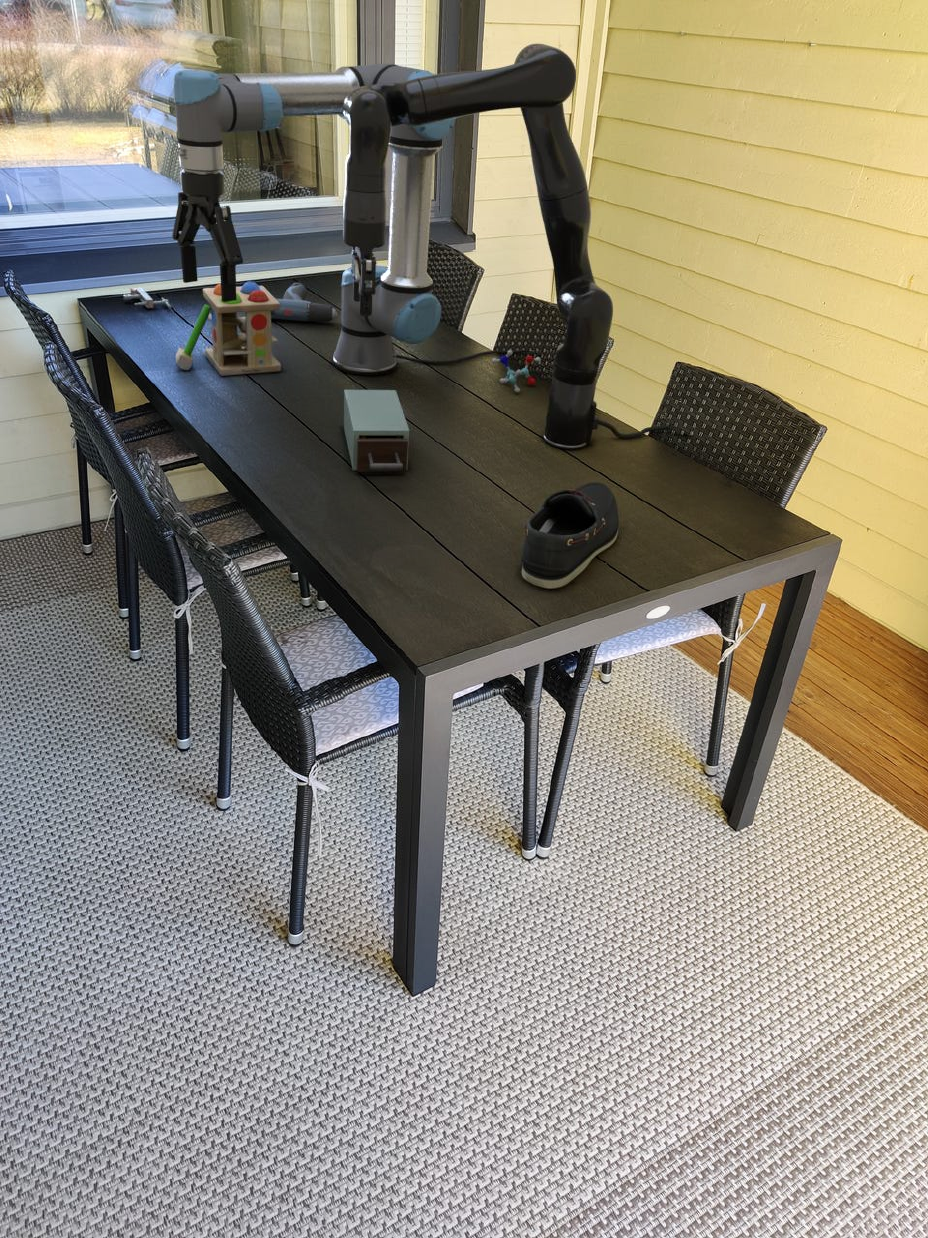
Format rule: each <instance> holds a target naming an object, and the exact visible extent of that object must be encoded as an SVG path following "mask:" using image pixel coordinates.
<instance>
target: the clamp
mask: <svg viewBox="0 0 928 1238" xmlns="http://www.w3.org/2000/svg"><path fill="white" fill-rule="evenodd" d="M129 289H130V293H129V294H128V293H127V294H122V295H123V297H122V298H123V300H124V301H128V300H129V301H130V300H133V299H135V300H136V299H138V300H140V302H135V303H134V306H144V307H146V308H147V309H154V305H162V306H167V308H168V309H172V308H173V305H172V304H170V302H169V299H168V298H167V299H165V297H160V300H153V298H152V297H151V296H150V295H149V294H148V293H147V292H146V291H145V290H144V289H143V288H142V287H136V288H135V287H131V288H129Z"/></svg>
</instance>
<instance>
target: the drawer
mask: <svg viewBox="0 0 928 1238" xmlns="http://www.w3.org/2000/svg"><path fill="white" fill-rule="evenodd" d="M407 450H408V451H409V448H408V440H407V439H401V435H359V439H357V470H356V471H357V473H362V472H364V473H366V472H367V473H368V472H370V473H371V472H373V473H374V472H385V473H386V472H407V470H406V468H407V469H408V465H407Z"/></svg>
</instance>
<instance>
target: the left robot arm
mask: <svg viewBox="0 0 928 1238" xmlns="http://www.w3.org/2000/svg"><path fill="white" fill-rule="evenodd" d="M431 75H436V73H433V72H430V71H429V70H426V69H419V68H414V67H409V66H401V65H398V64H394V63H376V64H374V63H373V64H365V65H364V64H363V65H354V66H340V67H339V68H337V69H336V70H335V72H248V73H245V72H244V73H237V72H236V73H216V72H214V71H211V70H205V69H189V68H188V69H180V70H178V71H176V73H175V74H174V77H173V81H174V83H173V102H174V108H175V119H176V121H175V122H176V130H177V131H176V132H177V142H178V151H177V155H178V157H179V167H180V168H182V169H181V170H180V172H179V173H180V174H179V175H180V176H179V177H180V187H181V189H180V190H181V191H179V192H178V193H177V199H178V200H177V208H176V214H175V220H174V225H173V231H172V235H171V236H172V239H173V240H174V241H177V244H178V246H179V247H180V248H179V249H180V259H181V271H182V283H184V284H187V283H194V282H198V281H199V280H198V279H199V278H198V268H197V267H198V265H197V252H196V251H197V250H196V246H195V245H196V242H195V238H196V236H197V234H198V232H199V230H200V228H201V226H202V227H203V228H204V229H205V231H206V232H207V233H209V235H210V236H211V239H212V241H213V244H214V246H215V249H216V251H217V253H218V256H219V258H220V261H221V262H220V263H219V275H220V277H219V278H220V284H221V296H222V301H223V302H228V301H234V300H237V298H236V287H237V268H236V267H237V265H240V264H241V265H242V264H243V263H244V259H243V258H244V257H243V255H242V251H241V248H240V244H239V241H238V237H237V234H236V230H235V226H234V223H233V220H232V218H233V217H232V211H231V206H230V205H221V203H220V197H221V196H223V195H224V194H225V192H226V190H225V174H224V173H223V172H222V170H223V169H224V168H225V166H224V150H223V149H224V148H223V133H231V132H232V133H233V132H234V133H235V132H260V133H263V132H265V131H272V130H276V129H277V128H278V127H279V126H280V124H281V123H282V119H283V117H303V116H304V117H306V116H308V117H309V116H333V115H334V116H336V115H337V116H339V117H340V118H341V119H343V120H345V121H346V119H345V117H344V112H343V105H344V101H345V99H346V97H347V95H348V94H349V93H350V92H351V91H352V90H354V89H356V88H358V87H362V86H366V85H373V84H384V83H399V82H405V81H408V80H412V79H417V78H421V77H426V76H431ZM455 122H456V118H453V119H449V120H444V121H439V122H435V123H430V124H424V125H419V126H410V125H397V126H391V134H390V141H389V147H388V148H389V149H390V150H391V151H392V163H391V185H390V186H391V187H390V208H389V209H390V210H389V211H390V212H389V231H388V255H387V256H388V257H387V266H386V265H377V264H376V279H375V290H376V293H375V295H372V314H371V315H370V316H361V315H360V313H359V305H360V302H356V301H354V299H353V290H354V281H355V280H353V278H352V275H353V274H352V272H351V266H350V267H348V268H346V269H345V270H344V271H343V273H342V277H341V278H342V279H341V285H340V288H341V313H340V314H341V316H340V317H341V319H340V321H341V324H340V325H341V326H340V329H341V330H340V336H339V338H338V341H337V344H336V348H335V350H334V352H333V361H332V362H333V363H332V364H333V366H334V367H335V368H337V369H338V370H339V371H342V372H344V373H347V374H352V375H356V376H380V375H381V376H382V375H386V374H389V373H391V372H393V371H395V369H396V368H397V361H398V359H402V360H404V361H405V360H406V361H410V362H414V363H423V364H435V365H436V364H437V365H440V364H442V365H444V364H445V365H446V364H454V363H458V362H459V363H460V362H462V361H467V360H471V359H474V358H475V359H476V358H479V357H482V356H486V355H493V354H495V355H496V354H507V352H508V351H509V350H511V351H512V352H513V353H512V354H520V353H528V352H531V351H524V350H523V349H524V348H522V349H513V350H512V349H503V350H501V349H500V350H487V351H483V352H482V351H481V352H479V353H474V354H471V355H467V356H462V357H458V358H454V359H449V360H448V359H447V360H446V359H445V360H431V359H423V358H414V357H409V356H406V355H401V354H396V352H395V347H394V343H393V341H392V338H394V339H396V340H397V341H399V342H402V343H403V342H404V343H406V344H410V345H418V344H421V343H423V342H425V341H427V340H428V339H429V338H430V337H431V336H432V335H433V334H434V333H435V332H436V330H437V328H438V327H439V324H440V321H441V318H442V306H441V302H440V301H439V300H438V298H437V297H436V296H435V295H434V294H433V283H434V281H433V279H432V278H431V276H430V275H429V274H428V272H427V270H428V257H429V239H430V225H431V211H432V209H431V208H432V193H433V178H434V165H435V156H436V154H437V153H438V152H439V151H440V150H441V149H442V148H443V139H444V138H446V137H447V136H448V135H449V134H450V133H451V129H452V128H453V127H454V125H455ZM366 287H370V284H369V283H366ZM531 353H532V352H531Z"/></svg>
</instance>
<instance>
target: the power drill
mask: <svg viewBox="0 0 928 1238" xmlns="http://www.w3.org/2000/svg"><path fill="white" fill-rule="evenodd" d="M307 295H308V290H307V287H306V285H304V284H303V283H301V282H293V283H292V284H291V285H290V286H289V287H288V288H287V289H286V291H285V292H284V294H283V297H282V298H275V299H276V300H277V301H278V302H279V303H280V310H271V319H274V320H275V319H276V320H283V321H294V322H295V321H297V322H332V321H333V320H334V319H336V318H337V317H338V312H337V311H336V308H334V307H333V306H332V305H331V304H324V303H317V302H313V301H307V300H305V299H306V297H307Z"/></svg>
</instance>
